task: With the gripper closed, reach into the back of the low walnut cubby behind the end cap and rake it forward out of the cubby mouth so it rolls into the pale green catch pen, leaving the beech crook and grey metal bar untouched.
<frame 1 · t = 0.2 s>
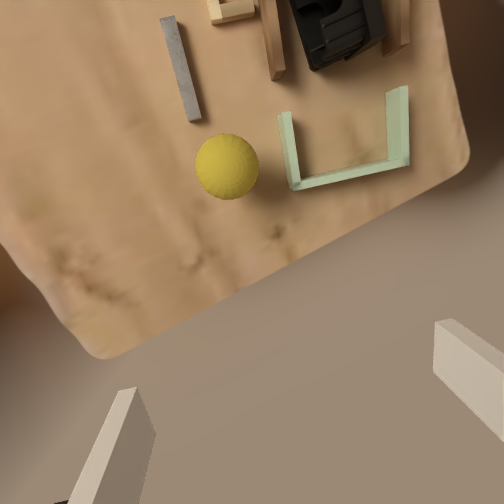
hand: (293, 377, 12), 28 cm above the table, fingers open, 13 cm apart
catch pen: (338, 141, 36), on the table
grey metal bar: (183, 75, 32), on the table
end cap: (325, 18, 32), on the table
light bulb: (226, 166, 36), on the table
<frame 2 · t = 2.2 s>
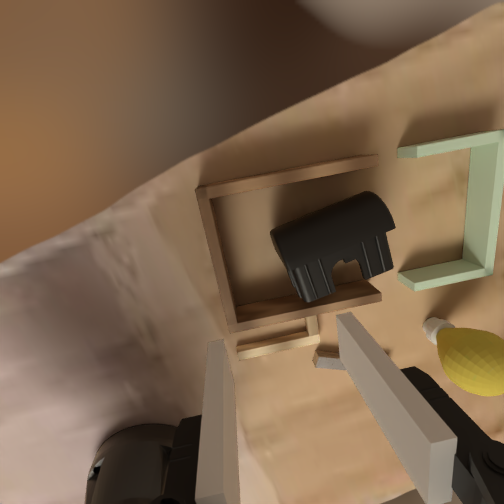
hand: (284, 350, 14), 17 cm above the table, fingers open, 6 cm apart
catch pen: (436, 211, 30), on the table
grey metal bar: (348, 357, 36), on the table
end cap: (317, 234, 30), on the table
beech crook: (277, 341, 34), on the table
light bulb: (430, 324, 36), on the table
cubby: (291, 240, 30), on the table
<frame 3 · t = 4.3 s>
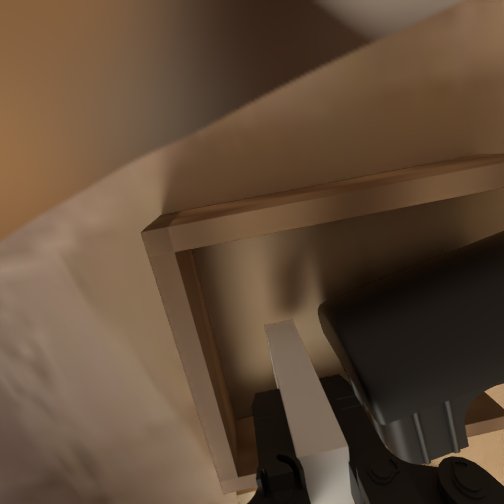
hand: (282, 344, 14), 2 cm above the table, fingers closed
end cap: (396, 297, 17), on the table, touching gripper
cubby: (338, 311, 16), on the table
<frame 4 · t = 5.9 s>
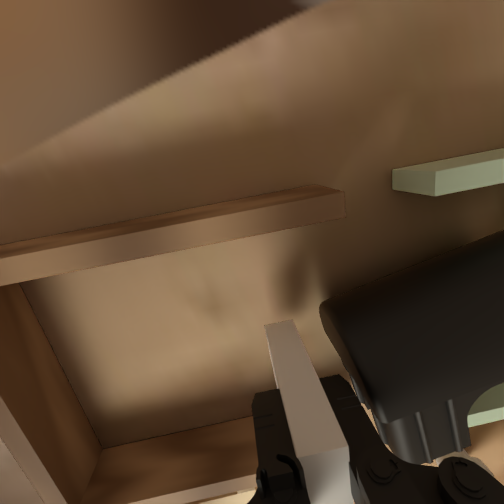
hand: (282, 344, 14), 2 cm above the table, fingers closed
catch pen: (465, 284, 16), on the table
end cap: (398, 295, 16), on the table, touching gripper
beech crook: (187, 492, 20), on the table
light bulb: (448, 453, 21), on the table
cubby: (193, 341, 16), on the table
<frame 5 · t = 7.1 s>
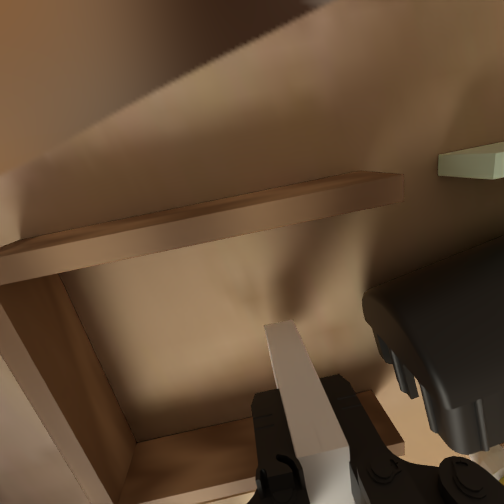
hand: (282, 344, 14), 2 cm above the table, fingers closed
end cap: (437, 284, 16), on the table
beech crook: (219, 486, 20), on the table
light bulb: (481, 447, 21), on the table
cubby: (230, 333, 16), on the table
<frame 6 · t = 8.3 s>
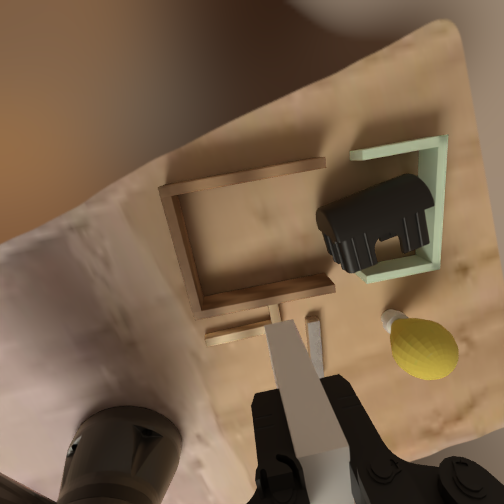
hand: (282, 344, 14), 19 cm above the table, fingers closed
catch pen: (389, 210, 33), on the table
grey metal bar: (312, 345, 39), on the table
end cap: (355, 215, 33), on the table
beech crook: (243, 329, 36), on the table
light bulb: (388, 315, 38), on the table
cubby: (254, 235, 32), on the table
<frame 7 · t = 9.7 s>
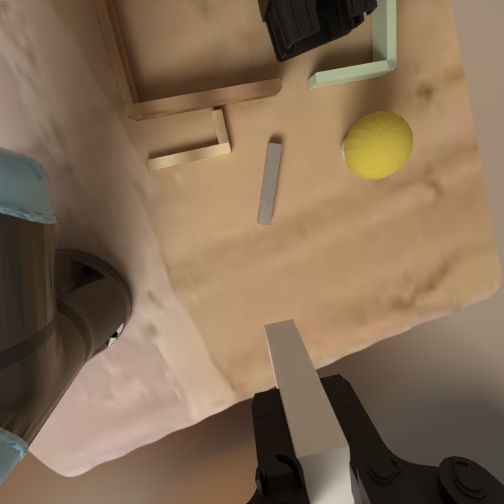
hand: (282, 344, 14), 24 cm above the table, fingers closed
catch pen: (340, 6, 30), on the table
grey metal bar: (267, 184, 36), on the table
end cap: (304, 13, 30), on the table
beech crook: (190, 156, 34), on the table
light bulb: (348, 149, 35), on the table
cubby: (193, 31, 30), on the table
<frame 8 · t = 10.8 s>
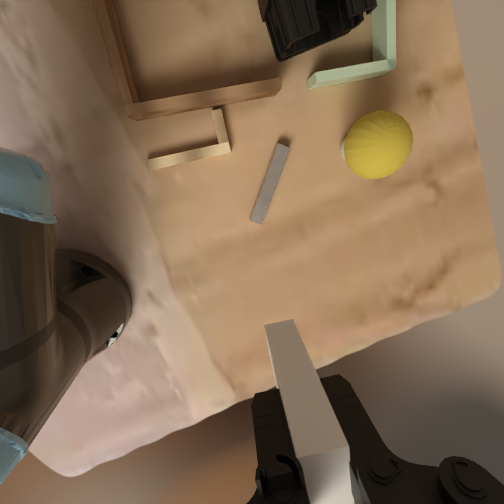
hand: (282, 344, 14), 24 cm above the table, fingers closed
catch pen: (340, 6, 30), on the table
grey metal bar: (267, 184, 36), on the table
end cap: (304, 13, 30), on the table
beech crook: (189, 156, 34), on the table
light bulb: (348, 149, 35), on the table
cubby: (193, 31, 30), on the table
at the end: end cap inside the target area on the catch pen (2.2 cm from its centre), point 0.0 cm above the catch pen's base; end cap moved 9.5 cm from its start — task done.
